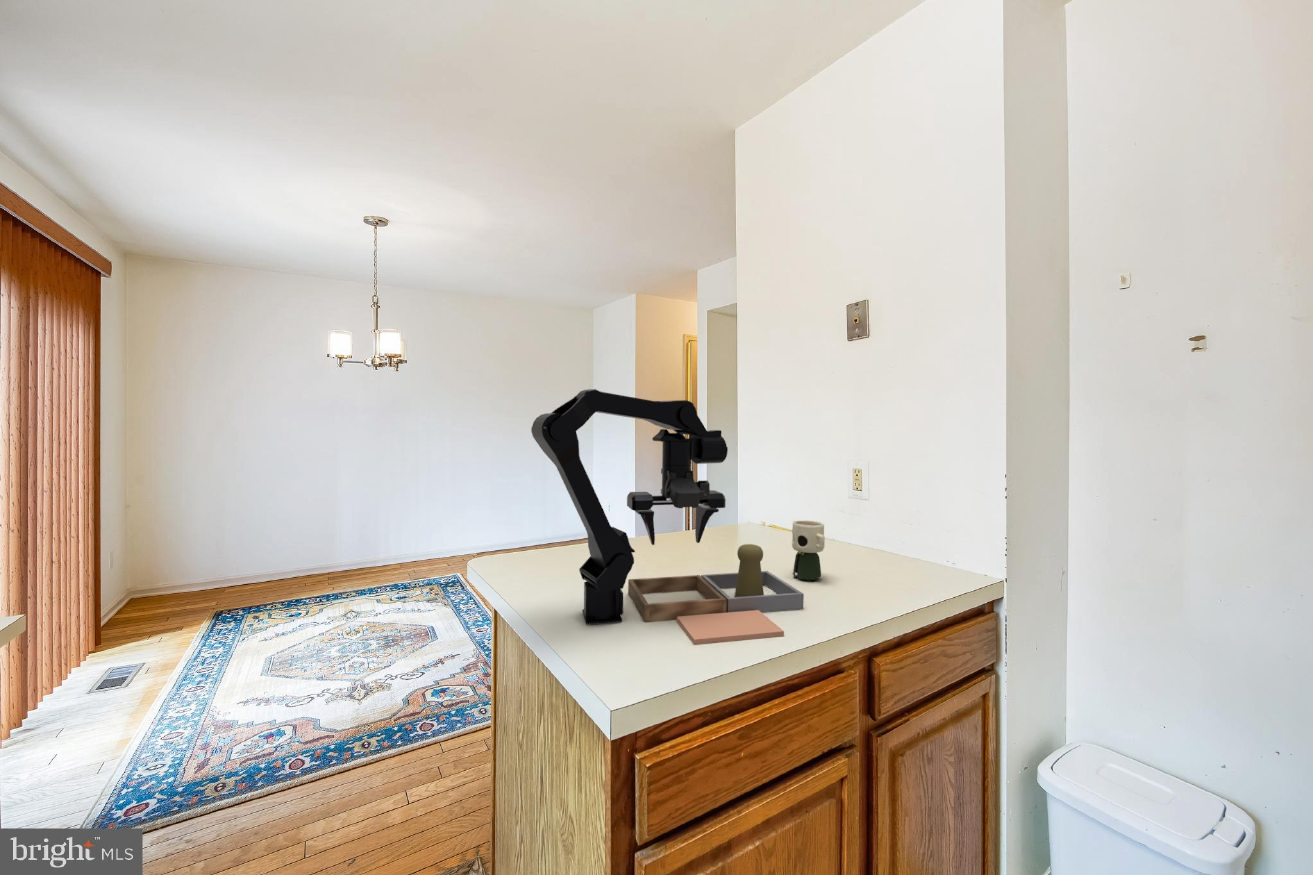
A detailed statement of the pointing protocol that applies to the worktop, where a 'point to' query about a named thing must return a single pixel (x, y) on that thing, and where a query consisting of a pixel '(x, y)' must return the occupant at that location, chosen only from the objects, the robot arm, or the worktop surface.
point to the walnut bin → (675, 609)
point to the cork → (749, 571)
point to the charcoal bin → (764, 603)
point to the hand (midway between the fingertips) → (675, 543)
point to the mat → (728, 626)
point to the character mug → (807, 548)
